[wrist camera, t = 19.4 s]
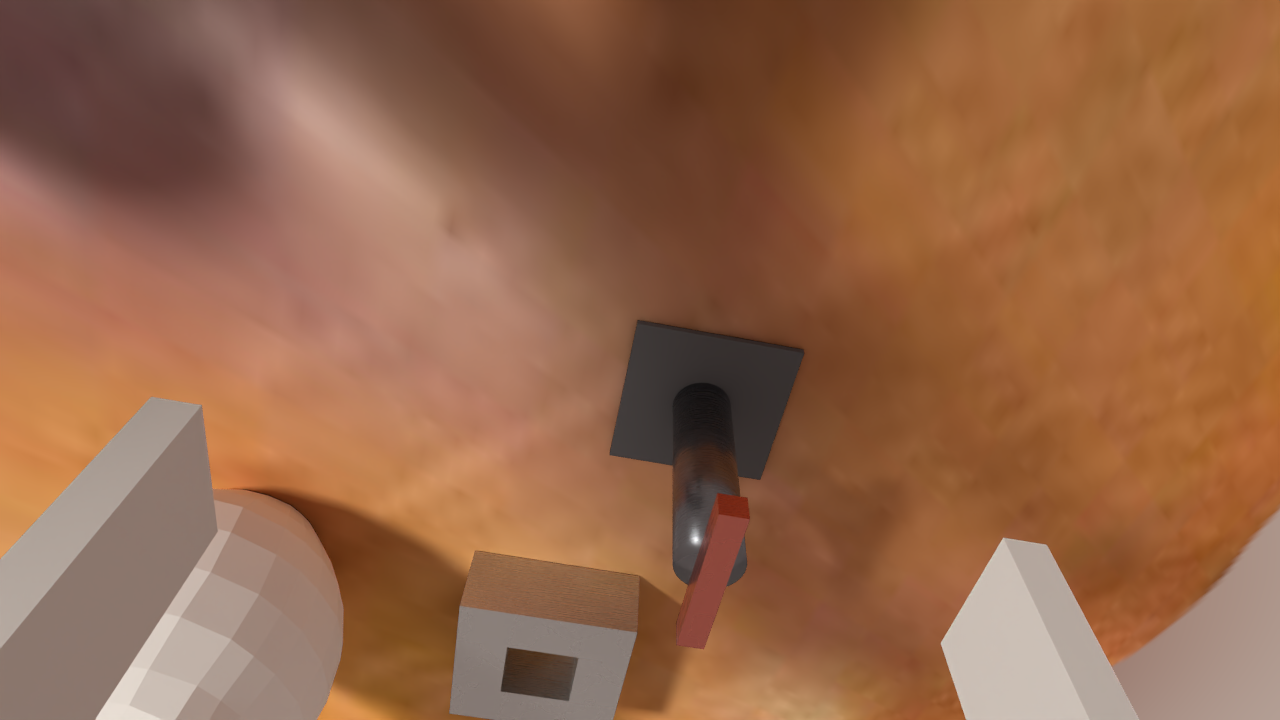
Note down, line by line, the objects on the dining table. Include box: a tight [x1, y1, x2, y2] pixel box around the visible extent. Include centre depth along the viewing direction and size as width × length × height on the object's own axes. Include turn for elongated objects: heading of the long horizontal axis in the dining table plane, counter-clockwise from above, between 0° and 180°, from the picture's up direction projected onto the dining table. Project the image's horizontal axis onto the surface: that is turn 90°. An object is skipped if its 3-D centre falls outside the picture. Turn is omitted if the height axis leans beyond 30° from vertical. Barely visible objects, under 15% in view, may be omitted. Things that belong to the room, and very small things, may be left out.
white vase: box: [95, 489, 344, 720], centre depth 48 cm, size 19×18×25 cm
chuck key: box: [673, 383, 750, 649], centre depth 45 cm, size 9×4×14 cm, turn 169°
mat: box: [610, 320, 804, 480], centre depth 51 cm, size 10×10×1 cm
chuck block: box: [449, 551, 640, 720], centre depth 60 cm, size 12×12×5 cm
